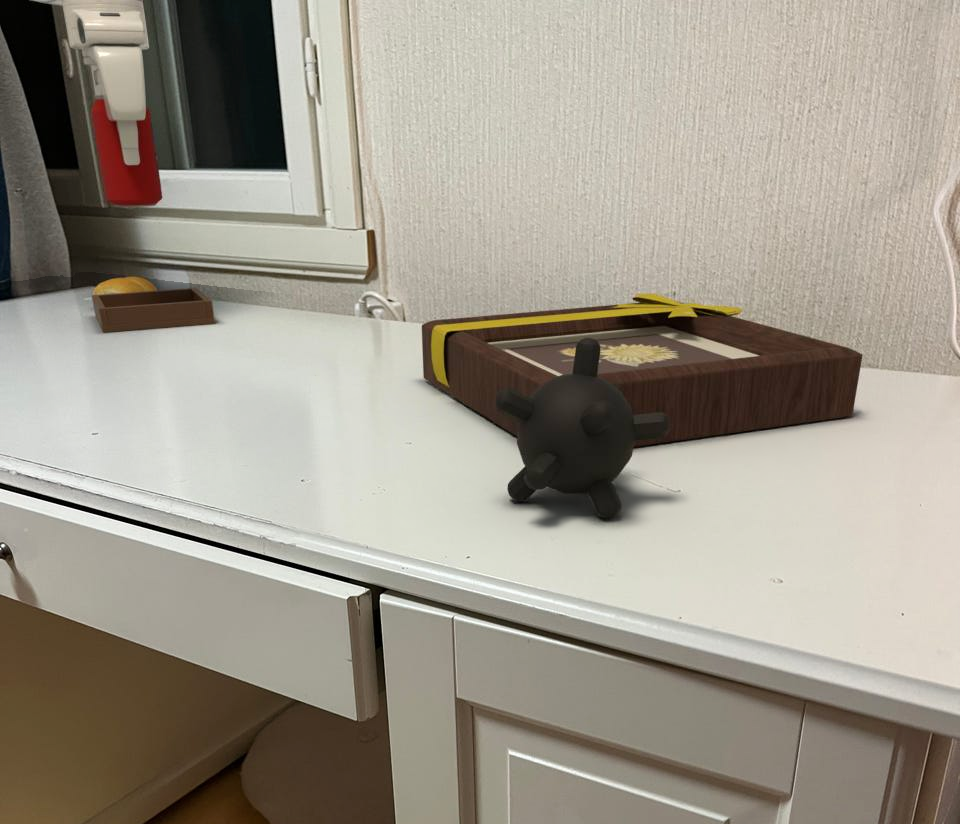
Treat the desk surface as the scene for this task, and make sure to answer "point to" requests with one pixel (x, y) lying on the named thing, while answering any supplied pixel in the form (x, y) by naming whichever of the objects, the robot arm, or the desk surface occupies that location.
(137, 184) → the beverage can
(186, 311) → the serving tray
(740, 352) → the brown gift box
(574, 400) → the naval mine
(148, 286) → the bread roll
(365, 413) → the desk surface
